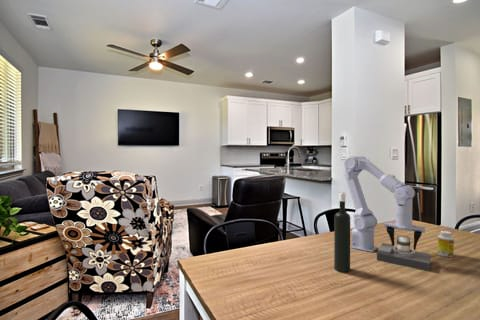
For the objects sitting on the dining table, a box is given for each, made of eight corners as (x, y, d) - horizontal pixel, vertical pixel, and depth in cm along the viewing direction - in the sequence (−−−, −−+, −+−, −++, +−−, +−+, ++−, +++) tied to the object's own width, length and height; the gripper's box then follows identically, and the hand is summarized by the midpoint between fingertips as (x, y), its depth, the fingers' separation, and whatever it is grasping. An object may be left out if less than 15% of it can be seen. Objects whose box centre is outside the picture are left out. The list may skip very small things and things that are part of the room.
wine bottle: (349, 267, 104) (349, 191, 103) (350, 273, 98) (351, 193, 97) (334, 265, 105) (334, 191, 105) (334, 271, 100) (334, 193, 99)
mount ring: (391, 254, 109) (391, 250, 109) (394, 248, 115) (394, 245, 115) (414, 258, 104) (414, 254, 104) (415, 252, 110) (415, 249, 110)
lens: (395, 253, 109) (395, 237, 109) (398, 250, 113) (398, 234, 113) (409, 256, 106) (409, 239, 106) (411, 253, 110) (411, 236, 110)
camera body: (376, 259, 111) (377, 250, 110) (382, 251, 120) (382, 242, 120) (429, 271, 100) (429, 260, 99) (430, 261, 109) (430, 251, 109)
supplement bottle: (450, 258, 112) (451, 234, 111) (435, 254, 116) (435, 231, 116) (455, 255, 115) (456, 232, 114) (440, 251, 119) (440, 229, 119)
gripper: (382, 214, 111) (382, 246, 111) (424, 219, 102) (424, 253, 102) (385, 211, 116) (385, 241, 116) (425, 215, 107) (425, 248, 108)
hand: (403, 247), depth 110 cm, fingers open, 7 cm apart
